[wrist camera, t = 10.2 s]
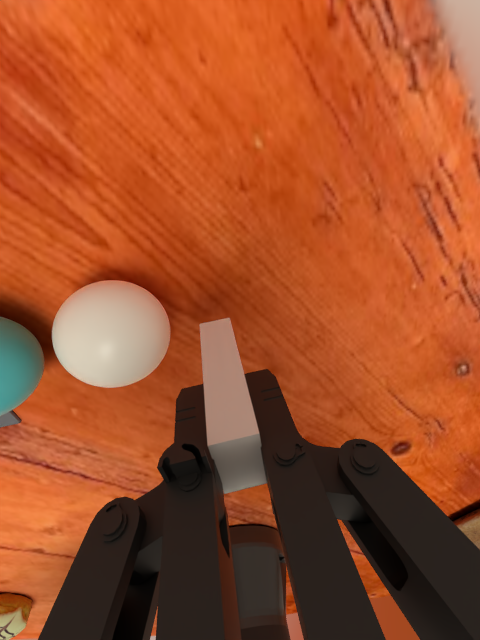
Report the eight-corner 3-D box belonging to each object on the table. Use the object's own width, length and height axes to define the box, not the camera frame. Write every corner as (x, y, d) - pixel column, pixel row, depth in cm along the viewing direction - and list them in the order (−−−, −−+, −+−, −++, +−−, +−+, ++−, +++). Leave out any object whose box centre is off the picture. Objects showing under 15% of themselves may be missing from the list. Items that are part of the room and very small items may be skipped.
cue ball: (16, 387, 10) (27, 322, 14) (134, 424, 14) (115, 364, 18) (116, 279, 10) (98, 245, 14) (206, 344, 14) (171, 302, 18)
